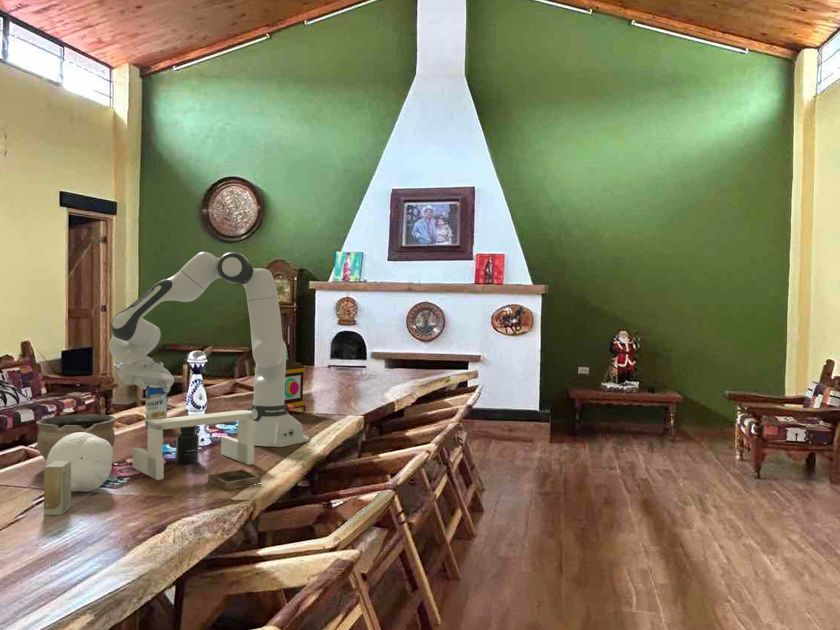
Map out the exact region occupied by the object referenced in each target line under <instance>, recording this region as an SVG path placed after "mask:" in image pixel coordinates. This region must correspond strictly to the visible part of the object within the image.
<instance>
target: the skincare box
mask: <svg viewBox="0 0 840 630" xmlns="http://www.w3.org/2000/svg"><path fill="white" fill-rule="evenodd" d="M43 468H44V469H43V472H44V473H43V515H44V516H62V515H63V514H65V513H66V512H67V511H68V510H70V508H72V491H71V461H53V462H51V463H50V464H48V465H47V464H46V465H45V466H44V467H43Z"/></svg>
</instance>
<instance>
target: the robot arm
mask: <svg viewBox="0 0 840 630" xmlns="http://www.w3.org/2000/svg"><path fill="white" fill-rule="evenodd" d="M218 279H223V280H224V281H225V282H226V283H229V284H235V285H236V284H238V285H239V284H240V285H242V286H243V288H244V290H245V294H246V302H247V310H248V316H249V325H250V338H251V339H250V340H251V349H252V352H251V353H252V357H253V361H254V362H255V365H256V369H255V371H254V380H253V402H254V404H253V403H252V404H251V406H252V411H251V412H253V445H254V446H258V447H275V448H283V447H287V446H293V445H296V444H302V443H305V442H310V437H309V436H307V435H305V434H304V429H303V425H302V423H301V422H300V421H299V420H297V419H296V418H295V417H293V416H292V415H290V414H289V411H293V410H294V409H295V408H294V406H293V405H288V406H287V405H286V404H284V393H285V372H286V354H287V353H288V349H287V345H286V342H285V340H284V339H283V331H282V330H283V329H282V317H281V310H280V303H279V297H278V290H277V286H276V283H275V279H274V276H273V274H272V272H271V271H270V270H269V269H267V268H264V267H263V268H262V267H259V268H258V267H257V268H255V267H253V266H252V265H251V263H250V261H249V260H248V258H247V257H246V256H245V255H243V254H242V253H240V252H235V251H229V252H226V253H224V254H223V255H222V256H220V257H217V256H215V255H214V254H212V253H210V252H207V251H201V252H198V253H196V255H194V256H193V257H192V258H191V259H190V260H188V261H187V262H186V263H185V264H184V265H183V266H182V268H180V269H179V270H178V272H176V273H175V274H174V275H171V277H169V278H167V279H166V278H165V279H161V280H160V281H158V282H156V283H155V284H153V285H152V286H151V287H150V288H149V289H148V290H146V291H145V292H144V293H143V294H142V295H141V296H140V297H138V298H137V299H136V300H134V302H132V303H131V304H130V305H129V306H128V307H125V309H123V310H121V311H120V312H119V313H117V314H116V315H114V317H113V318H112V320H111V324H110V328H111V333H112V335H113V336H112V337H111V339H110V340H109V343H108V346H109V347H108V349H109V353H110V354H111V356H112V357H113V359H114V360H115V361H116V362H115V363H114V364H113V367H114V369H116V374H117V377H118V378H119V379H120V380H121V381H122V382H124V383H130V384H134V385H135V386H136V387H139V388H140V390H147V389H148V386H157V387H163V391H164V392H168V393H170V391H171V387H172V386H173V384H174V383H175V377H174V376H173V375H172V374H171V372H170V371H169V370H168V369H167V368H166V367H164V363H163V362H161V361H160V360H157V359H154V358H152V357H150V356H148V355H149V354H150V353H152V351H154V350H155V349H156V348H157V346H159V344H160V342H161V340H162V331H161V329H160V327H159V326H157V325H155V324H154V323H152V322H151V321H148V320H146V319H145V318H144V317H145V316H146V315H147V314H148V313H149V312H150V311H152V310H153V309H154V308H155V307H156V306H158V305H159V304H160V303H163V302H166V301H168V302H169V301H174V302H175V301H176V302H181V303H189V302H193V301H195V300H197V299H198V298H199V297H201V295H202V294H203V293H204V292H205V291H206V289H207V288H209V286H210V285H211V284H212V283H213V282H214V281H215V280H218ZM293 408H294V409H293Z"/></svg>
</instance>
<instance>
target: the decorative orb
mask: <svg viewBox="0 0 840 630" xmlns="http://www.w3.org/2000/svg"><path fill="white" fill-rule="evenodd" d="M113 459H114V449H113V447H112V446H111V445H110V443H109V442H108V441H106V440H105V439H102V438H99V437H97V436H95V435H93V434H89V433H85V432H77V433H73V434H70V435H67V436H65V437H63V438H62V439H61V440H59V441H58V442H57V443H56V444H55V445H54V447H52V449H51V450H50V452H49V455H48V458H47V461H46V465H48V464H50V463H51V462H53V461H71V492H75V493H76V492H83V493H89V492H92V491H95V490H97V489H99V487H100V486H102V485H103V484H104V483H105V481H107V480H108V479H109V477H110V474H111V472H112V469H113V465H112V461H113Z"/></svg>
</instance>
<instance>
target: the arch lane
mask: <svg viewBox="0 0 840 630" xmlns="http://www.w3.org/2000/svg"><path fill="white" fill-rule="evenodd" d="M236 421H237V438H235V437H231V436H228V435H223V436H221V437H220V438H221V440H220V454H221V456H225V457H228V458H229V459H232V460H234V461H238V462H240V463H243V464H246V465H248V466H249V465H254V464H255V463H254V462H255V445H253V412H252V411H248V410H246V409H241V410H229V411H222V412H212V413H203V414H195V415H192V414H191V415H185V416H177V417H176V416H175V417H167V418H164V419H155V420H148V427H147V444H146V445H147V446H146V447H147V448H146V449H147V450H146V449H144V448H142V447H133V448H132V469H135V470H137V471H138V472H141V473H143V474H144V475H146V476H149V477H151V478H152V479H154V480H156V481H160V480H164V471H165V469H164V468H165V467H164V466H165V465H164V464H165V463H164V462H165V458H164V457H163V448H164V447H163V446H164V445H163V443H164V442H163V441H164V440H163V439H164V435H163V433H164V430H169V429H178V428H179V429H180V427H188V426H196V427H197V426H204V425H205V426H206V425H212V424H220V423H229V422H236Z"/></svg>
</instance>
